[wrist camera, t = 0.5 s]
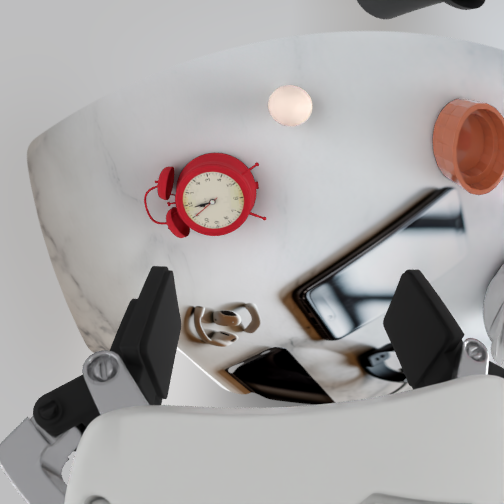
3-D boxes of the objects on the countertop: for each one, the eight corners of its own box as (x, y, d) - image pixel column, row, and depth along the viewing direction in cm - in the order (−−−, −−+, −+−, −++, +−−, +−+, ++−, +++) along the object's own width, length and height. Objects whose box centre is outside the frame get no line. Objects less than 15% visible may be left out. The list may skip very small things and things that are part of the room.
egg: (268, 83, 29) (273, 81, 24) (308, 89, 30) (322, 88, 24) (264, 120, 32) (267, 127, 26) (303, 125, 32) (315, 133, 27)
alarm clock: (271, 231, 36) (155, 261, 34) (258, 213, 41) (157, 238, 39) (260, 150, 30) (128, 183, 29) (247, 142, 36) (136, 170, 34)
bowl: (436, 86, 28) (460, 90, 23) (493, 113, 28) (516, 120, 24) (423, 174, 35) (443, 187, 30) (479, 187, 36) (499, 200, 31)
